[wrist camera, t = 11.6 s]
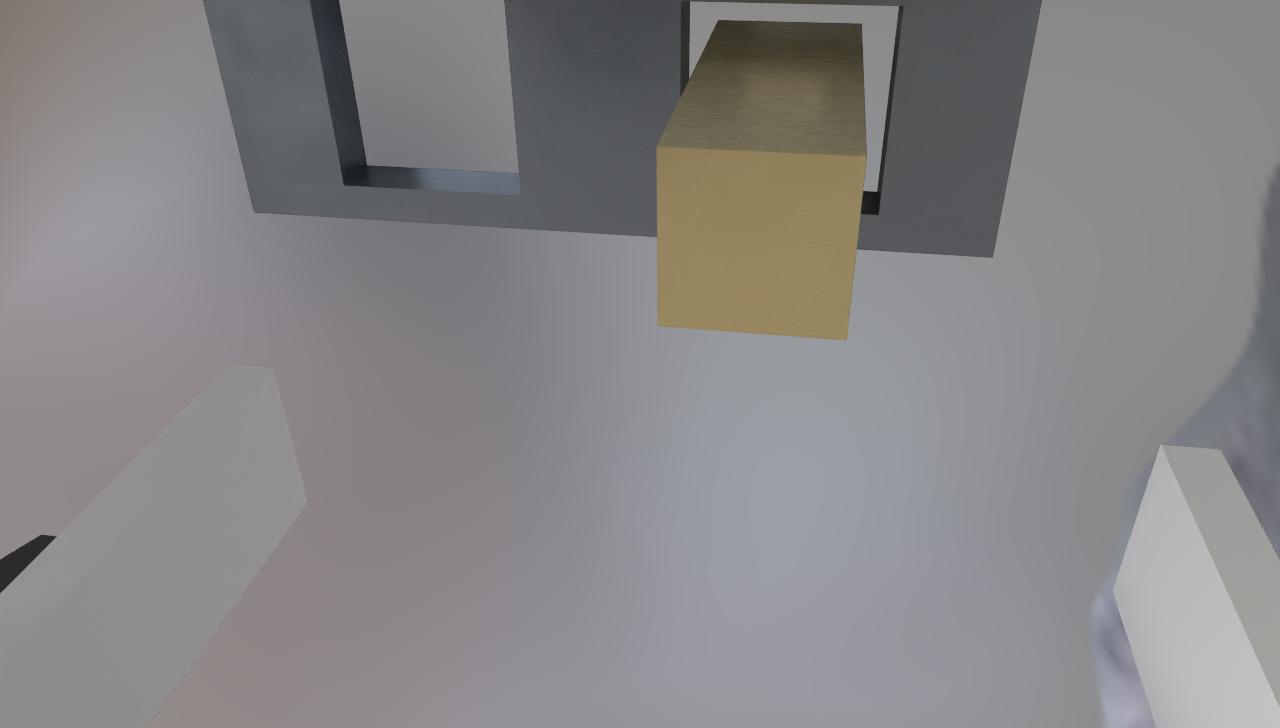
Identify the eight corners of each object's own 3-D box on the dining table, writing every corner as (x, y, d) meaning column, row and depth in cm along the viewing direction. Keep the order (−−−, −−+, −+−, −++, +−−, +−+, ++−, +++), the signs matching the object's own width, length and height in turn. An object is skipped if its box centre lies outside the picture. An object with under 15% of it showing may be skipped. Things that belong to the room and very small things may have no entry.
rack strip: (280, 191, 38) (252, 213, 36) (224, -61, 33) (189, -51, 31) (985, 232, 34) (992, 258, 32) (1037, -51, 29) (1049, -38, 27)
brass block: (715, 155, 34) (657, 326, 24) (718, 20, 31) (656, 146, 21) (848, 161, 33) (846, 340, 23) (861, 23, 31) (866, 156, 21)
